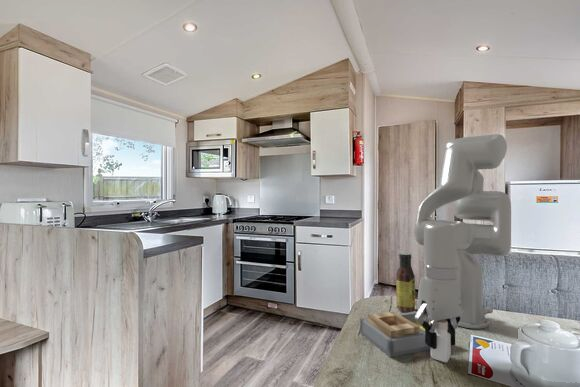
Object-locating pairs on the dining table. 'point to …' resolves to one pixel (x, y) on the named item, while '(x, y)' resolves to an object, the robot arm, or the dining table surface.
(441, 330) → the salt shaker
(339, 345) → the dining table surface
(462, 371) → the dining table surface
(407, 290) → the sauce bottle
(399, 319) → the shaker cabinet door
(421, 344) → the tray
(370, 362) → the dining table surface
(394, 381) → the dining table surface
